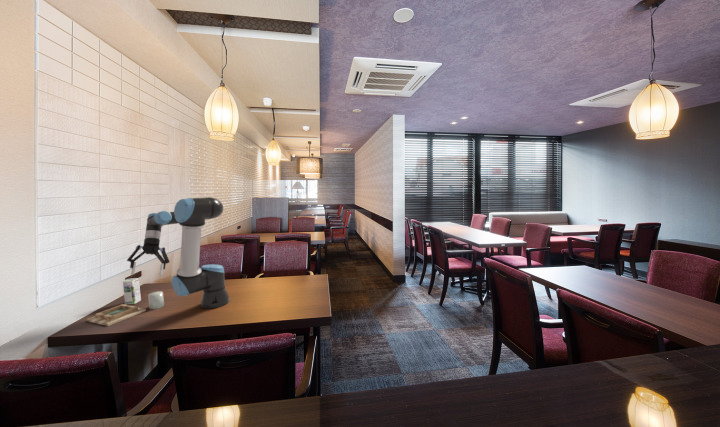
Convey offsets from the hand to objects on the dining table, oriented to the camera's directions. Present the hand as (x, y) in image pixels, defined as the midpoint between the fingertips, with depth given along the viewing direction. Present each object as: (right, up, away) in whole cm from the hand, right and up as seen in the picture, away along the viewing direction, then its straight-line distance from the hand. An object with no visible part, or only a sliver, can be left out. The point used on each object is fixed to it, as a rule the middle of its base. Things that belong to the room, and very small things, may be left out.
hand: (147, 274), depth 161 cm
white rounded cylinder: (+3, -20, +3) cm, 20 cm away
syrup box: (-16, -20, +10) cm, 28 cm away
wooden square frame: (-10, -21, -8) cm, 25 cm away
